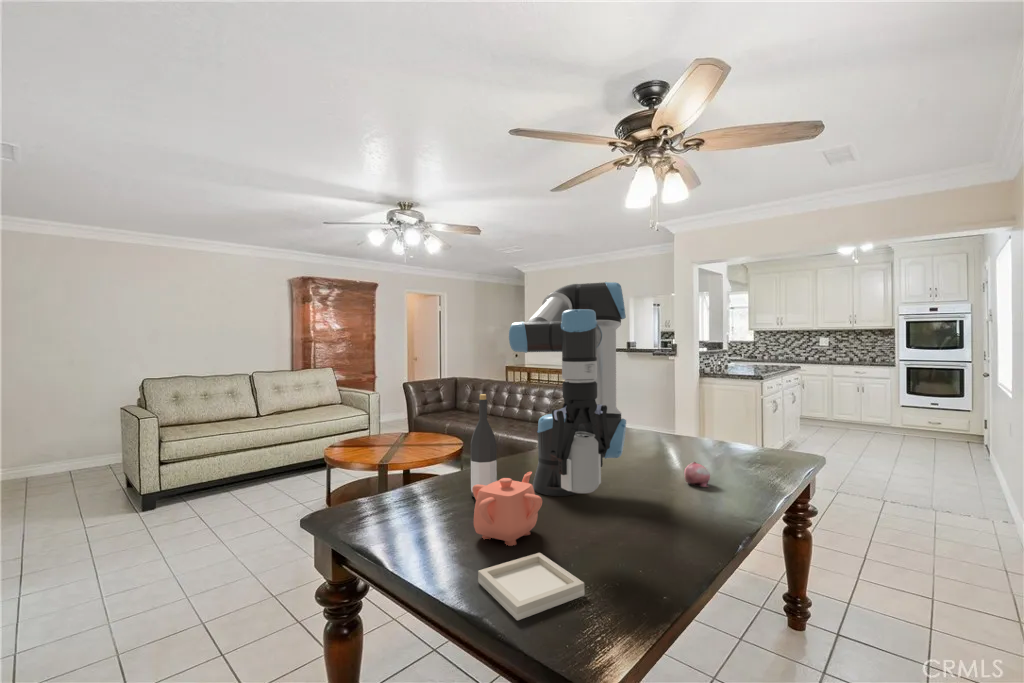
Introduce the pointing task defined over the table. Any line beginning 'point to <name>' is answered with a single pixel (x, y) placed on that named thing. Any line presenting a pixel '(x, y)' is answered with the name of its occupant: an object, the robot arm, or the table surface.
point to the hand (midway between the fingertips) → (581, 485)
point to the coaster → (530, 585)
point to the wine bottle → (483, 450)
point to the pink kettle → (506, 509)
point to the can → (584, 463)
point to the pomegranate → (697, 475)
